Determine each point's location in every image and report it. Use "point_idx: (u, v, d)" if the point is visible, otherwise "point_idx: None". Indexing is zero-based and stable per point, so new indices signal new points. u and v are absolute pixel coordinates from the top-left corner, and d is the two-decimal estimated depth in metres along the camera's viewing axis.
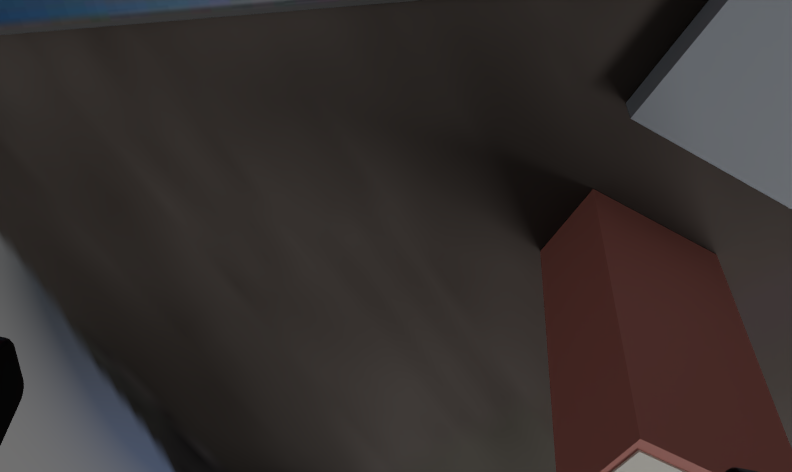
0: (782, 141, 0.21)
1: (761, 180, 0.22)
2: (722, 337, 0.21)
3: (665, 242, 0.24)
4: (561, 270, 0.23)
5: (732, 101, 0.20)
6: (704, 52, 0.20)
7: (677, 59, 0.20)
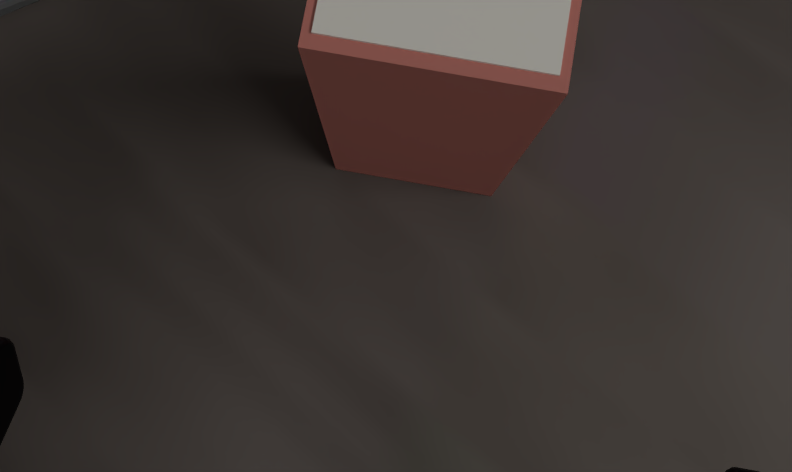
0: None
1: None
2: None
3: None
4: None
5: None
6: None
7: None
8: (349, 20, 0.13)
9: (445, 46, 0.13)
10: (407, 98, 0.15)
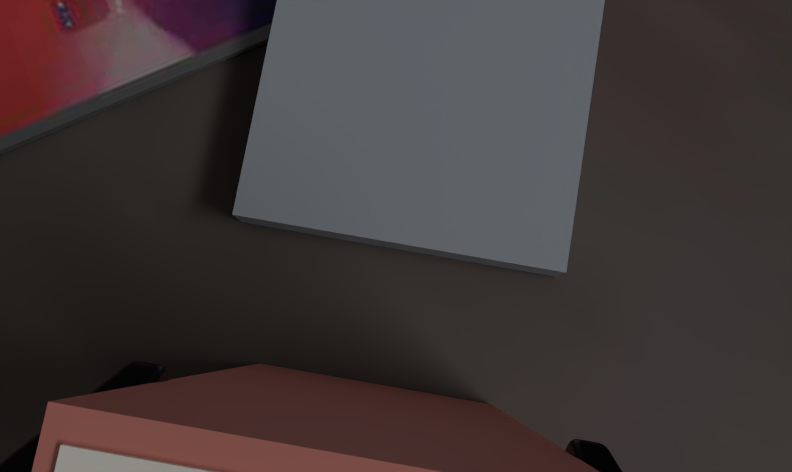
0: (438, 174, 0.15)
1: (448, 237, 0.15)
2: (456, 416, 0.11)
3: (382, 387, 0.15)
4: None
5: (346, 147, 0.15)
6: (277, 101, 0.16)
7: (251, 122, 0.16)
8: None
9: None
10: None
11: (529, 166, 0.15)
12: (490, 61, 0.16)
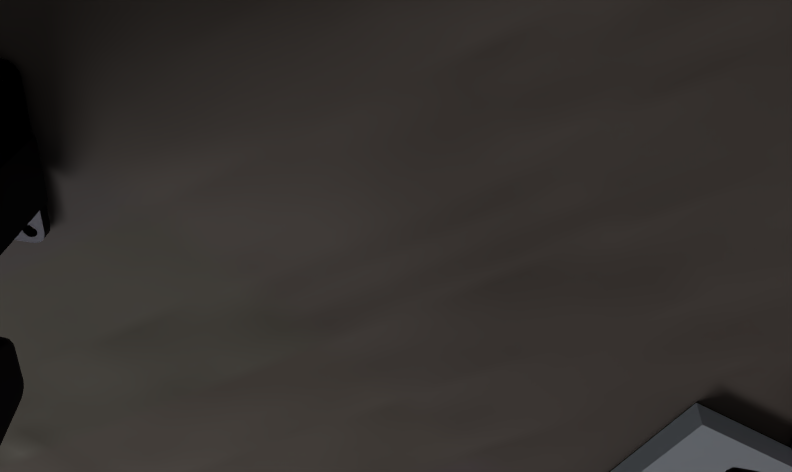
0: None
1: None
2: None
3: None
4: None
5: None
6: (750, 457, 0.27)
7: (747, 444, 0.26)
8: None
9: None
10: None
11: None
12: None
